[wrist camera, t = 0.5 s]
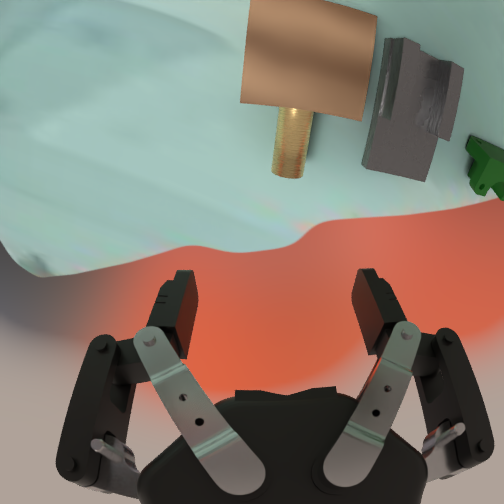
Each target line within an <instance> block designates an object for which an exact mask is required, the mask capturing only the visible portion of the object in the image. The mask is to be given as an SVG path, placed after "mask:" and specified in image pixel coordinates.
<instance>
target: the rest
mask: <svg viewBox="0 0 504 504" xmlns="http://www.w3.org/2000/svg"><path fill="white" fill-rule="evenodd" d="M463 73H464V68H462V67H460V66H459V65H457V64H455V63H454V62H451V61H443V60H438V59H436V58H434V57H432V56H430V55H428V54H426V53H424V52H422V51H420V44H418V43H415V42H413V41H411V40H409V39H407V38H394V39H392V38H387V39H385V42H384V50H383V58H382V65H381V71H380V77H379V83H378V89H377V95H376V100H375V105H374V110H373V115H372V120H371V125H370V130H369V134H368V139H367V143H366V147H365V152H364V156H363V160H362V165H363V166H364V167H365V168H366V169H369V170H374V171H379V172H384V173H389V174H393V175H397V176H402V177H406V178H410V179H414V180H418V181H422V182H425V180H426V177H427V174H428V171H429V168H430V164H431V161H432V158H433V154H434V151H435V147H436V144H437V140H438V137H439V138H442V139H444V140H447V141H450V137H451V133H452V129H453V125H454V121H455V117H456V112H457V107H458V103H459V97H460V92H461V86H462V80H463Z"/></svg>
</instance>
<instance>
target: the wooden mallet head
mask: <svg viewBox="0 0 504 504" xmlns="http://www.w3.org/2000/svg"><path fill="white" fill-rule="evenodd" d="M376 25H377V16H375V15H372V14H369V13H366V12H363V11H360V10H357V9H354V8H350V7H347V6H343V5H340V4H336V3H332V2H328V1H324V0H251V1H250V9H249V18H248V27H247V36H246V46H245V56H244V66H243V76H242V87H241V98H240V103H247V104H259V105H269V106H278V107H286V108H293V109H300V110H306V111H313V112H318V113H324V114H329V115H334V116H339V117H344V118H349V119H353V120H357V121H362V116H363V111H364V106H365V101H366V95H367V89H368V83H369V77H370V71H371V64H372V58H373V50H374V42H375V34H376Z"/></svg>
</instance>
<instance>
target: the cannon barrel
mask: <svg viewBox="0 0 504 504" xmlns="http://www.w3.org/2000/svg"><path fill="white" fill-rule="evenodd" d="M313 113H314V112H313V111H306V110H300V109H293V108H286V107H279V114H278V122H277V130H276V137H275V145H274V153H273V161H272V168H271V171H272V173H274V174H275V175H278V176H281V177H285V178H301V177H302V176H303V172H304V167H305V161H306V155H307V150H308V144H309V138H310V132H311V126H312V120H313Z"/></svg>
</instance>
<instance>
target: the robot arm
mask: <svg viewBox="0 0 504 504" xmlns="http://www.w3.org/2000/svg"><path fill="white" fill-rule="evenodd" d="M352 304H353V307H354V310H355V313H356V316H357V320H358V323H359V326H360V329H361V332H362V335H363V339H364V341H365V345H366V348H367V352H368V355H375V354H376V355H377V358H378V359H377V361H376V363H375V364H374V367H373V369H372V371H371V372H370V375H369V376H368V378H367V380H366V382H365V384H364V386H363V388H362V390H361V391H360V393H359V395H358V396H357V398H356V399H355V398H352V397H350V396H348V395H345V394H341V393H337V391H336V386H333V387H322V388H311V389H308V390H305V391H301V392H298V393H295V394H291V395H281V394H275V393H270V392H265V391H261V390H235V397H230V398H227V399H224V400H222V401H220V402H218V403H216V404H214V405H213V403H212V402H211V401H210V399H209V398H208V397H207V395H206V394H205V392H204V391H203V390H202V388H201V387H200V385H199V384H198V382H197V381H196V379H195V378H194V377H193V375H192V374H191V372H190V371H189V369H188V368H187V367H186V365H185V364H183V363H182V362H181V360H180V359H187V355H188V349H189V345H190V340H191V335H192V331H193V326H194V321H195V316H196V312H197V307H198V292H197V287H196V282H195V276H194V272H193V270H177V272H176V275H175V277H174V280H167V281H166V282H165V283H164V284H163V285H162V287H161V288H160V290H159V293H158V297H157V298H156V301H155V304H154V306H153V309H152V311H151V314H150V317H149V320H148V323H147V325H146V327H145V328H143V329H141V330H139V331H138V332H137V333H136V335H135V337H134V338H132V339H127V340H121V341H116V340H115V339H114V338H113V337H112V336H111V335H107V334H104V335H99V336H97V337H96V338H94V339H93V340H92V342H91V343H90V345H89V347H88V350H87V353H86V356H85V358H84V361H83V364H82V366H81V370H80V372H79V375H78V378H77V381H76V384H75V387H74V390H73V394H72V397H71V400H70V404H69V407H68V411H67V414H66V418H65V422H64V425H63V429H62V434H61V438H60V442H59V447H58V451H57V456H56V468H57V470H58V472H59V474H60V475H61V476H62V477H63V478H64V479H66V480H68V481H70V482H73V483H76V484H77V485H79V486H82V487H85V488H88V489H91V490H94V491H100V492H103V493H107V494H109V493H110V494H111V493H116V494H120V495H123V496H127V497H132V498H136V499H139V500H140V502H141V504H420V503H421V498H422V494H423V491H424V488H425V485H426V483H427V482H430V481H433V480H435V479H438V478H439V479H447V478H449V477H452V476H454V475H457V474H459V473H461V472H463V471H465V470H468V469H470V468H472V467H474V466H476V465H478V464H480V463H482V462H484V461H486V460H487V459H488V458H489V457H490V456H491V455H492V453H493V450H494V438H493V434H492V430H491V426H490V422H489V418H488V415H487V412H486V408H485V405H484V402H483V398H482V395H481V392H480V390H479V386H478V384H477V381H476V378H475V375H474V373H473V370H472V368H471V365H470V362H469V360H468V357H467V355H466V353H465V350H464V348H463V346H462V343H461V341H460V339H459V337H458V335H457V334H456V333H455V332H454V331H453V330H451V329H449V328H441V329H439V330H438V331H437V333H436V335H432V334H427V333H421V332H420V330H419V328H418V327H417V326H416V325H415V324H413V323H411V322H408V321H407V319H406V317H405V315H404V313H403V310H402V308H401V306H400V304H399V302H398V300H397V298H396V296H395V294H394V292H393V290H392V288H391V286H390V284H389V283H388V282H386V281H385V280H384V279H383V278H379V277H378V275H377V273H376V271H375V270H374V269H373V268H370V269H369V268H367V269H359V270H358V272H357V275H356V279H355V283H354V286H353V290H352ZM412 375H413V376H414V378H415V382H416V386H417V389H418V393H419V397H420V401H421V406H422V410H423V414H424V419H425V423H426V428H427V433H428V435H427V436H426V437H425V439H424V441H423V447H422V454H421V453H420V452H419V451H417V450H416V449H415V448H414V447H412V446H411V445H410V444H409V443H408V442H406V441H405V440H404V439H403V438H402V437H400V436H399V435H398V434H397V433H395V432H394V431H393V430H392V429H391V426H392V423H393V421H394V419H395V417H396V414H397V412H398V410H399V408H400V405H401V403H402V400H403V398H404V395H405V393H406V390H407V388H408V385H409V382H410V380H411V377H412ZM148 381H151V382H152V384H153V386H154V388H155V390H156V392H157V393H158V395H159V397H160V399H161V401H162V402H163V404H164V406H165V408H166V409H167V411H168V413H169V415H170V416H171V418H172V420H173V421H174V423H175V424H176V426H177V428H178V429H179V431H180V432H181V434H182V435H181V436H180V437H179V438H177V439H176V440H175V441H174V442H173V443H172V444H171V445H170V446H169V447H168V448H166V449H165V450H164V451H163V452H162V453H161V454H160V455H158V457H156V458H155V459H154V460H153V461H151V462H150V463H149V464H148V465H147V466H146V467H145V468H144V469H143V470H142V471H141V473H140V472H139V471H138V470H137V468H136V465H135V457H134V454H133V452H132V450H131V449H130V448H129V447H128V446H126V445H125V444H126V437H127V431H128V425H129V419H130V414H131V409H132V403H133V398H134V393H135V389H136V384H137V383H142V382H148Z"/></svg>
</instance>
